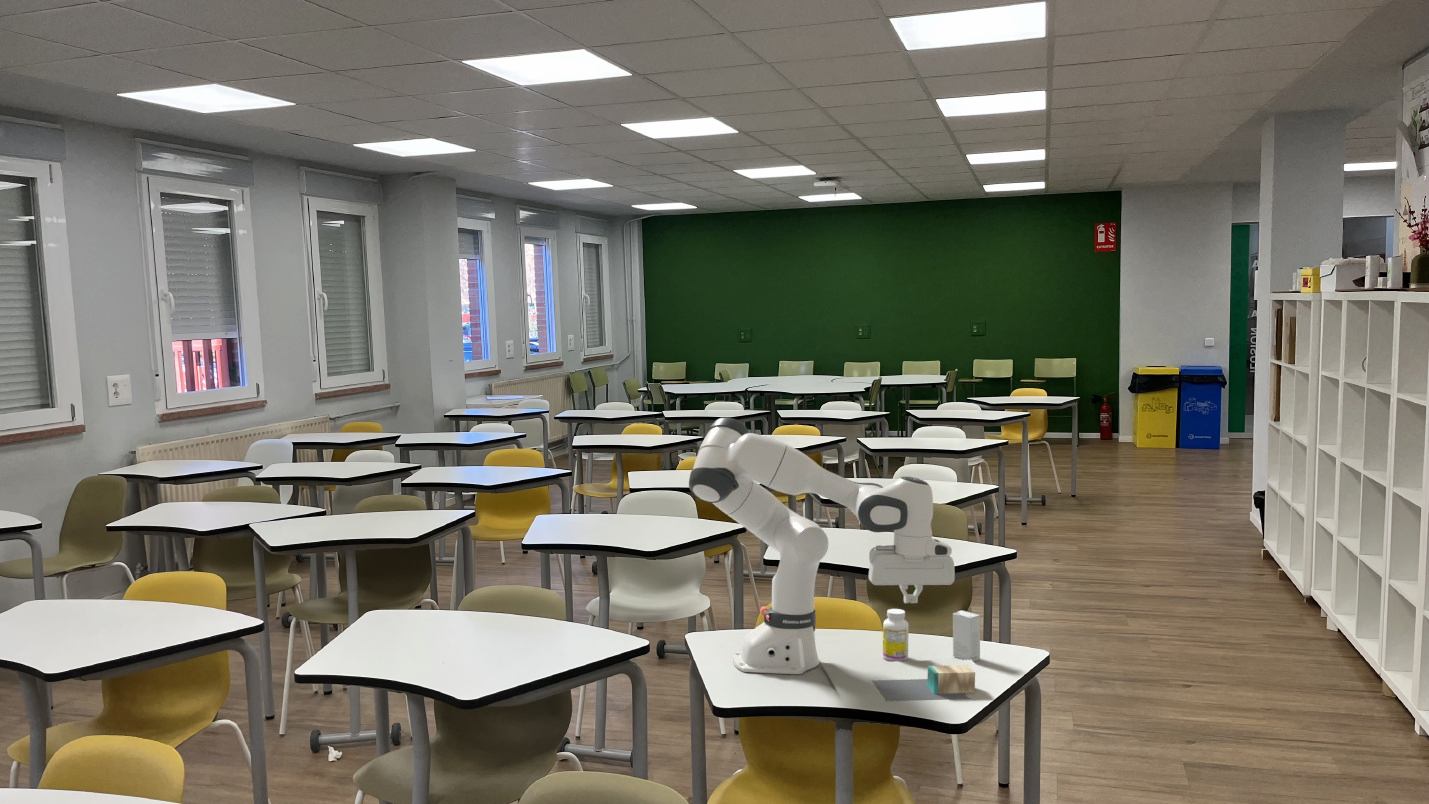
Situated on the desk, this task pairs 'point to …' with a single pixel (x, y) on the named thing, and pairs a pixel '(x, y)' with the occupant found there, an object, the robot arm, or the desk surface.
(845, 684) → the desk surface
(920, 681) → the rubber mat
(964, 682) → the birch block
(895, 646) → the supplement bottle
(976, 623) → the skincare box
